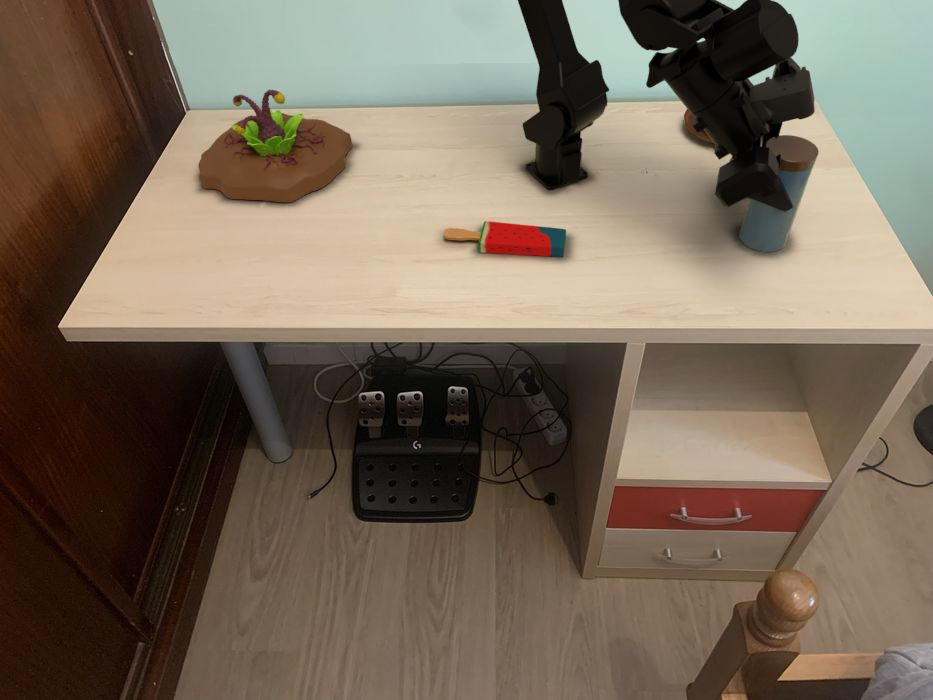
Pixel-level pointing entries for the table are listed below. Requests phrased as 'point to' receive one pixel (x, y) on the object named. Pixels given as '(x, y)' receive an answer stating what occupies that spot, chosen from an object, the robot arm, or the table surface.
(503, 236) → the popsicle
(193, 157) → the table surface
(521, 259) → the table surface
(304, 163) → the plant
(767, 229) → the spice jar
